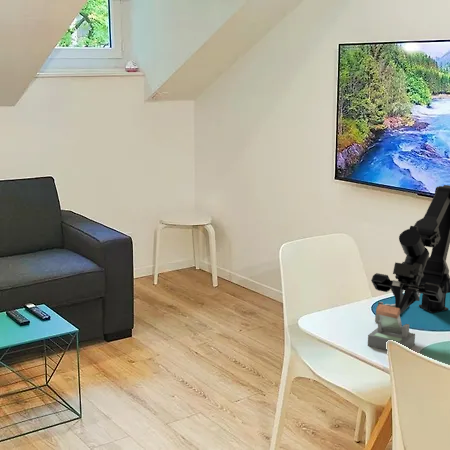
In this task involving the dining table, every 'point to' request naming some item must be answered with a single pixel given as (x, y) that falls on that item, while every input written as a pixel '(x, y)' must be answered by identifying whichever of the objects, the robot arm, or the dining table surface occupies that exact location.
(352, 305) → the dining table surface
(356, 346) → the dining table surface
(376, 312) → the caliper
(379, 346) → the breaker housing
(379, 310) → the toggle lever
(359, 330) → the dining table surface
